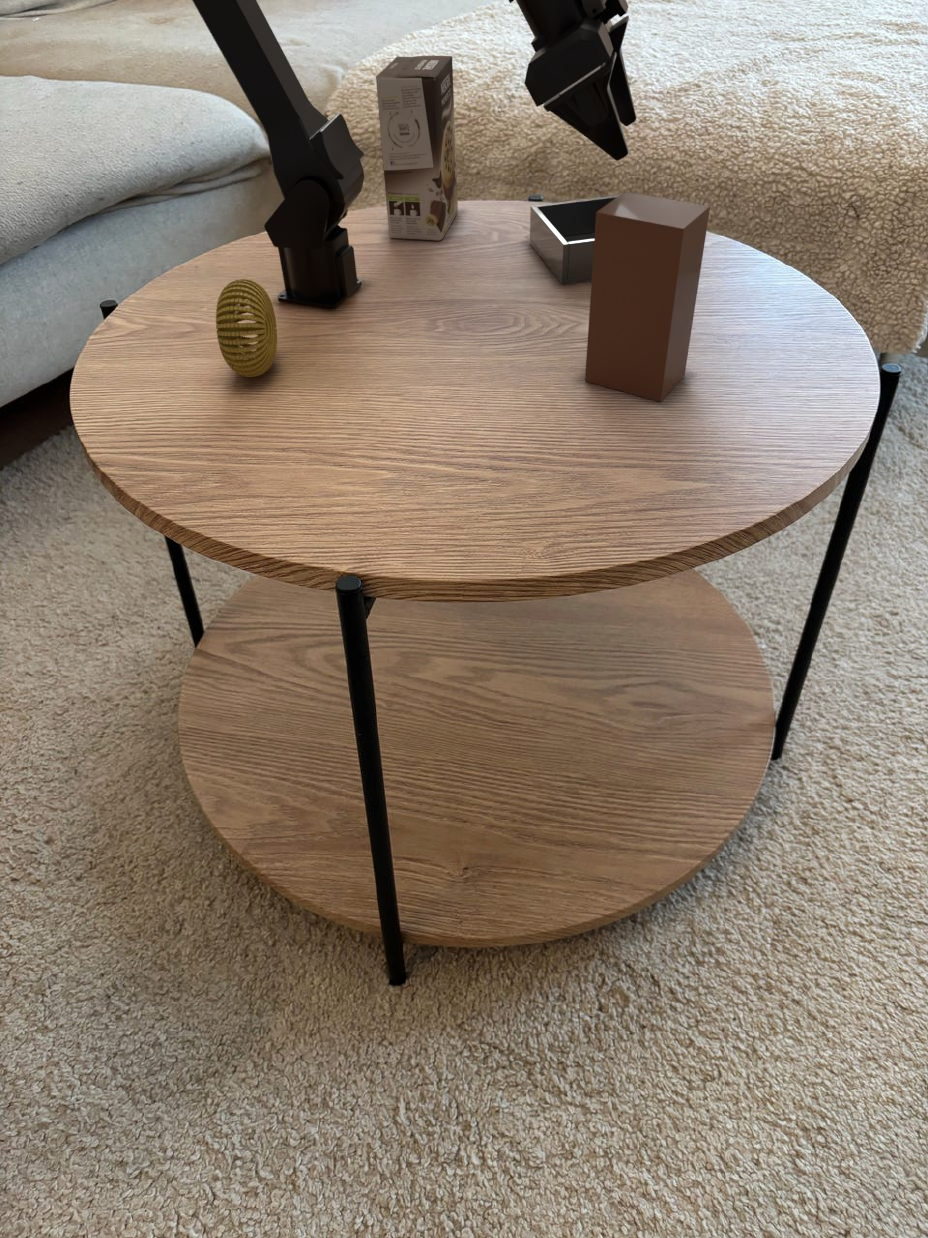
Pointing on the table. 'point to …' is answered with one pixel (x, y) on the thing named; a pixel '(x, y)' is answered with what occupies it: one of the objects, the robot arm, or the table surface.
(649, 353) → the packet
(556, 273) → the open box
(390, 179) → the coffee box
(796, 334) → the table surface
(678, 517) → the table surface
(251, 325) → the sculpture
